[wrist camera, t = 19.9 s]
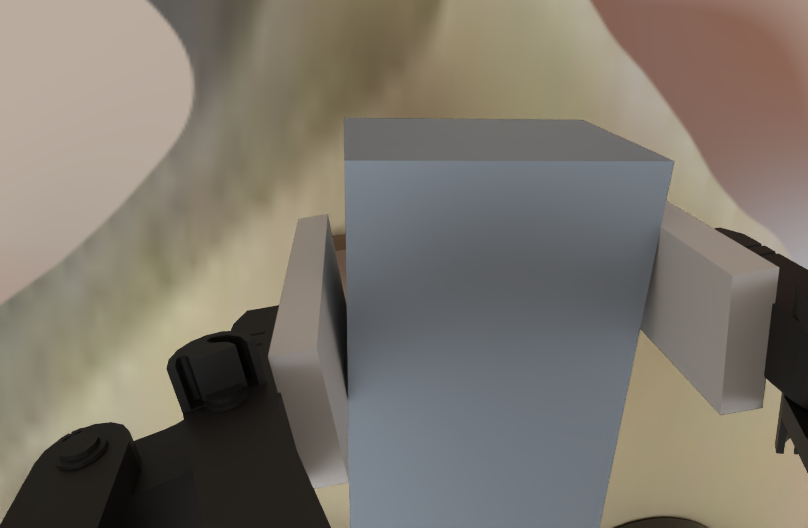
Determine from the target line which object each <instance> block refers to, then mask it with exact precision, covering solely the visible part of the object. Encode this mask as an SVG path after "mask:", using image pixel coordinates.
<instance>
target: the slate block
mask: <svg viewBox="0 0 808 528" xmlns="http://www.w3.org/2000/svg"><path fill="white" fill-rule="evenodd" d="M344 153H345V221H346V290H347V356H348V427H349V493H350V528H599V527H600V522H601V517H602V512H603V507H604V503H605V498H606V493H607V488H608V483H609V478H610V473H611V468H612V463H613V459H614V454H615V449H616V444H617V439H618V434H619V429H620V424H621V419H622V415H623V410H624V405H625V400H626V395H627V390H628V385H629V380H630V376H631V371H632V366H633V361H634V356H635V351H636V346H637V341H638V336H639V332H640V327H641V322H642V317H643V312H644V307H645V302H646V297H647V292H648V288H649V283H650V278H651V273H652V268H653V263H654V258H655V253H656V249H657V244H658V239H659V234H660V226H661V224H662V219H663V214H664V209H665V205H666V200H667V195H668V190H669V185H670V180H671V175H672V170H673V165H674V161H672V160H670V159H668V158H666V157H664V156H661V155H659V154H657V153H655V152H653V151H650V150H648V149H646V148H644V147H642V146H639V145H637V144H635V143H633V142H631V141H628V140H626V139H624V138H622V137H619V136H617V135H615V134H613V133H611V132H608V131H606V130H604V129H602V128H600V127H597V126H595V125H593V124H591V123H589V122H586V121H584V120H533V119H426V118H344Z"/></svg>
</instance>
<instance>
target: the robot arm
mask: <svg viewBox="0 0 808 528" xmlns="http://www.w3.org/2000/svg"><path fill="white" fill-rule="evenodd" d="M640 329H641V330H642V331H643V332H644V333H645V334H646V336H647V337H648V338H649V339H650V340H651V341H652V342H653V343H654V344H655V345H656V346H657V347H658V348H659V350H660V351H661V352H662V353H663V354H664V355H665V356H666V357H667V358H668V359H669V360H670V361H671V362H672V364H673V365H674V366H675V367H676V368H677V369H678V370H679V371H680V372H681V373H682V374H683V375H684V376H685V378H686V379H687V380H688V381H689V382H690V383H691V384H692V385H693V386H694V387H695V388H696V389H697V391H698V392H699V393H700V394H701V395H702V396H703V397H704V398H705V399H706V400H707V401H708V402H709V403H710V405H711V406H712V407H713V408H714V409H715V410H716V411H717V412H718V413H719V414H720V415H725V414H731V413H736V412H742V411H747V410H753V409H758V408H763V399H764V391H765V383H766V379H768V380H769V381H770V382H771V383H772V384H773V385H774V386H776V387H777V388H778V389H779V390H780V391H781V392H782V397H781V404H780V412H779V419H778V426H777V434H776V441H775V448H776V453H781V454H784V447H785V442H786V441H787V440H788V439H789V438H791V440H792V442H793V444H794V446H795V447H794V454H799V456H800V458H801V460H802V462H803V464H804V466H805V468H806V470H807V472H808V270H807V269H805V268H803V267H802V266H800V265H798V264H796V263H795V262H793V261H791V260H789V259H787V258H786V257H784V256H782V255H780V254H776V253H775V251H773V250H771V249H770V248H768V247H766V246H761V243H759V242H757V241H755V240H754V239H752V238H750V237H748V236H746V235H745V234H741V233H738V232H734V231H731V230H727V229H723V228H715V229H713V228H712V227H710V226H708V225H707V224H705V223H703V222H702V221H700V220H698V219H697V218H695V217H693V216H691V215H690V214H688V213H686V212H685V211H683V210H681V209H680V208H678V207H676V206H675V205H673V204H671V203H669V202H668V201H666V205H665V209H664V214H663V219H662V224H661V226H660V234H659V239H658V244H657V249H656V253H655V258H654V263H653V268H652V273H651V278H650V283H649V288H648V292H647V297H646V302H645V307H644V312H643V317H642V322H641V327H640ZM167 371H168V374H169V377H170V380H171V382H172V385H173V388H174V391H175V393H176V396H177V399H178V401H179V404H180V407H181V410H182V412H183V417H184V420H183V421H181V422H179V423H178V424H176V425H174V426H171V427H169V428H167V429H165V430H162V431H160V432H157V433H154V434H152V435H149V436H146V437H144V438H141V439H138V440H136V441H133V439H132V436H131V434H130V432H129V430H128V429H127V428H126V427H125V426H124V425H122V424H117V423H112V422H110V423H101V424H94V425H91V426H88V427H85V428H80V429H78V430H75V431H73V432H71V434H67V435H65V436H64V437H62V438H61V439H59V440H58V441H57V442H56V443H54V444H53V445H52V446H51V447H49V448H48V449H47V450H45V451H44V452H43V454H42V455H41V456H40V457H39V459H38V460H37V461H36V462H35V464H34V465H33V467H32V469H31V471H30V473H29V474H28V476H27V478H26V480H25V482H24V483H23V485H22V487H21V489H20V490H19V492H18V494H17V496H16V498H15V499H14V501H13V503H12V505H11V507H10V508H9V510H8V512H7V514H6V515H5V517H4V519H3V521H2V523H1V524H0V528H331V527H330V525H329V522H328V520H327V518H326V516H325V513H324V511H323V509H322V507H321V504H320V502H319V500H318V497H317V495H316V493H315V491H314V489H316V488H321V487H327V486H332V485H338V484H343V483H349V445H348V356H347V304H346V300H345V295H344V290H343V285H342V280H341V276H340V271H339V266H338V261H337V256H336V252H335V247H334V242H333V237H332V232H331V228H330V223H329V218H328V214H326V215H320V216H314V217H308V218H302V219H298V223H297V227H296V232H295V236H294V241H293V245H292V250H291V254H290V259H289V263H288V268H287V272H286V277H285V282H284V286H283V291H282V295H281V300H280V304H279V305H278V306H272V307H266V308H261V309H255V310H249V311H247V312H246V313H244V314H243V315H242V316H241V317H240V318H239V319H238V320H237V321H236V322H235V323H234V324H233V327H232V329H231V331H223V332H218V333H214V334H210V335H206V336H203V337H201V338H199V339H196V340H194V341H191V342H189V343H188V344H186V345H185V346H183V347H182V348H180V349H179V350H177V351H176V352H175V354H174V355H173V356H172V357H171V358H170V359H169V361H168V365H167ZM619 528H706V527H704V526H702V525H700V524H698V523H695V522H692V521H688V520H683V519H675V518H657V519H648V520H643V521H638V522H634V523H631V524H628V525H625V526H622V527H619Z"/></svg>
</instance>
